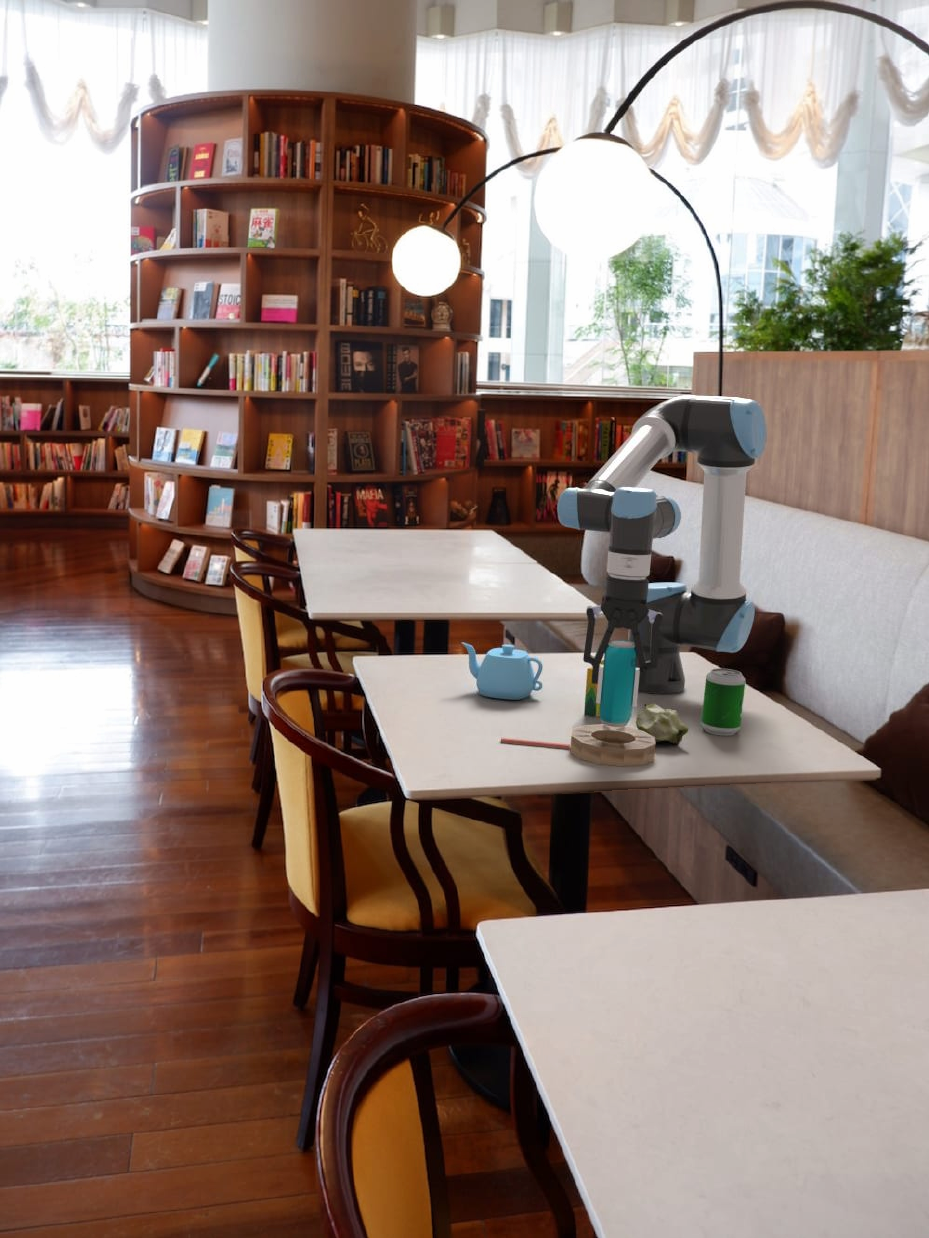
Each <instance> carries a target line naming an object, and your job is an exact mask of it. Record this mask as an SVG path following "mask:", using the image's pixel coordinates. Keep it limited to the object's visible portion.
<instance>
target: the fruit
mask: <svg viewBox="0 0 929 1238" xmlns="http://www.w3.org/2000/svg"><path fill="white" fill-rule="evenodd" d="M643 705H644V709H643V710H642V711H640V712H639V713H638V714H637V716H636V720H635V724H636V729H638V730H641V731H644V732H646V733H648V734H650V735H651V736H653V737H655V743H658V742H664V741H669V742H670V743H671V744H677V745H679V744H680V743H682V739H683V736H685V735H686V734H687V733H688V732H689V727H687V726H686V725H685V724H684V723H682V722H681V720H680V717H679V713H678V711H677V710H675V709H671V708H665V709H663V708H662V707H661V706H659V705H658V704H655V703H652V704H650V705H647V704H646V703H645V704H643Z"/></svg>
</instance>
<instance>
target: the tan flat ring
mask: <svg viewBox="0 0 929 1238" xmlns="http://www.w3.org/2000/svg"><path fill="white" fill-rule="evenodd" d="M655 750H656V742H655V737H653V736H651V735H650V734H648V733H646V732H644V731H641V730H638V729H637V728H634V727H629V726H627V725H626V726H624V727H612V726H607V725H605V724H603V723H601V724H586V725H581V726H579V727H576V728H572V731H571V737H570V749H569V751H570V753H571V754H573V755H575V756H576V757H578V758H579V759H581V760H584V761H589V762H591V763H594V764H599V765H604V766H605V765H606V766H617V767H630V766H631V767H632V766H643V765H646V764H648V763H651V762H652V761H655V754H656V753H655V752H656V751H655Z"/></svg>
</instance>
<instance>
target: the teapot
mask: <svg viewBox="0 0 929 1238" xmlns="http://www.w3.org/2000/svg"><path fill="white" fill-rule="evenodd" d="M461 644H462V645H463V646H464V647H465V649H466V650H467V653H468V665H469V666H468V667H469V672H470V674H471V675H472V676H473V677H474V679H476V688H477V690H478V692H479V694H480V695H481V696H484V697H487V698H494V699H499V700H501V699H502V700H513V701H518V700H523V699H525V698H527V697H529V696H530V694H531V693H532V692H533V691H536V692H538V691H541V690H542V689H543V683H542V681H540V680H539V678H540V676H541V674H542V671H543V663H542V661H541V660H540V659H539V658H537V657H536V656H530V655H529V653H528V652H527V651H526V650H522V649H516V647H515V645H513V644H502V645H501V647H496V648H495V647H494V648H492V649H490V650H488V651H487V652H486V654H485V656H484V658H483V659H482V662H481V664H480V663H479V662H478V660H477V655H476V649H475V648H474V647H473V645H471V644H469V643H467V642H464V641H463V642H461ZM532 662H535V663H536V664H537V665H538V668H537V672H536V674H535V672H534V668H533V664H532ZM537 684H538V685H539V686H536V685H537Z"/></svg>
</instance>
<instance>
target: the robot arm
mask: <svg viewBox="0 0 929 1238" xmlns="http://www.w3.org/2000/svg"><path fill="white" fill-rule="evenodd" d="M766 443H767V421H766V417H765V412H764V410H763V408H762V406H761V405H760V403H759V402H757V401H756V400H754V399H750V398H749V399H748V398H741V397H737V396H734V397H733V396H714V395H713V396H711V395H694V394H684V395H678V396H676V397H672V398H669V399H667V400H665V401H662V402H660V403H658V404H657V405H655V406H653V407H652V408H650V409H648V410H647V411H646V412H645V413H644V414H642V415H641V416H640V417H639V418H638V419H637V420H636V422H634V424H633V425H632V429H631V434H630V436H629V437H628V438H627V439H626V440H625V441H624V442H623V444H622V445H620V447H619V448H618V449H617V450H616V452H614V454H613V455H611V457H610V458H609V459H608V460H607V461H606V462H605V463H604V465H603V466H602V467H601V468H600V469H599V470H598V471H597V472H596V473H595V474H594V476H593V477H592V478H591V479H590V480H589V481H588V483H587V484H585V486H583V488H579V487H568V488H565V489H564V490H562V492H561V494H560V495H559V498H558V500H557V501H558V502H557V508H556V509H557V518H558V520H559V523H560V524H561V525H562V526H564V527H566V528H571V529H576V530H578V531H581V530H583V531H584V530H585V531H592V532H600V533H609V541H608V542H609V543H608V553H607V563H606V572H607V573H608V575H607V576H606V577H605V587H604V595H603V596H604V597H603V600H602V602H601V604H599V605H596V606H591V605H588V606H587V607H586V616H587V630H586V636H585V637H586V638H585V644H584V650H583V651H584V652H583V658H582V660H583V662H584V663H586V664H587V663H588V664H590V665H591V667H593V669H592V683H593V684H598V687H597V698H596V703H600V701H601V690H602V678H603V665H600V663H601V661H602V660H603V659H604V654H605V650H606V648H607V645H608V643H609V640H611V637H612V636H613V633H614V631H615V629H621V628H622V629H623V628H624V629H626V630H628V634H627V641H632V642H634V643H635V648H636V653H637V660H636V670H635V680H634V691H633V702H632V708H633V707H634V708H635V707H637V705H638V693H639V692H641V693H646V694H647V693H648V694H662V695H663V694H665V695H666V694H675V693H676V694H677V693H680V692H682V691H684V689H685V683H686V677H685V674H684V673H685V672H684V669H683V664H682V659H681V655H680V652H681V645H682V646H688V647H692V648H694V647H695V648H700V649H704V650H705V649H706V650H711V651H715V652H718V653H720V652H722V653H723V652H725V653H732V654H733V653H737V652H738V651H740V650H741V649H742V648H743V647H744V645H745V644H746V642H747V640H748V638H749V635H750V634H751V630H752V627H753V624H754V617H755V613H756V612H755V611H756V610H755V609H756V608H755V603H754V602H753V601H751V599H747V589H746V588H745V587H744V586H743V585H742V583H741V582H740V581H741V569H742V567H741V566H742V551H743V550H742V548H743V532H744V516H745V504H746V489H747V488H746V484H747V473H748V471H750V470H751V469H752V468H753V467H754V466H755V462H756V459H759V458H760V457H762V456H763V454H764V452H765V449H766ZM673 452H674V453H675V452H688V453H695V454H696V453H697V460H696V461H697V465H698V466H699V467H700V468H701V469H702V470H703V472H704V474H703V489H702V490H703V492H702V506H701V507H702V508H701V510H702V511H701V526H700V527H701V529H700V530H701V531H700V551H699V568H698V570H699V571H698V581H696V582H695V584H693V585H692V586H691V588H690V591H688V588H687V585H686V584H685V583H681V582H671V581H670V582H652V583H650V582H649V579H648V578H647V577H649V576H650V573H651V570H650V569H651V561H652V560H651V559H652V551H653V550H652V549H653V540H654V539H662V538H665V537H667V536H669V535H671V534H672V533H674V532H675V531H676V530H677V529H678V527H679V526H680V524H681V519H682V513H681V508H680V506H679V504H678V503H677V502H676V501H675V500H674V499H672V498H671V497H669V496H665V495H659V494H658V495H657V492H656V491H654V490H653V489H650V488H643V487H637V486H638V485H639V484H640V483H641V481H643V479H644V478H645V476H647V474H648V473H649V472H650V471H651V470H652V468H653V467H654V466H655V465H656V464H657V463H658V462H659V460H661V459H665V458H666V457H669V456H670V455H671V454H672V453H673ZM600 613H602V614H603V615H604V617H605V618H606V620H607V625H606V628H605V631H604V633H603V635H602V638H601V640H600V642H599V645H598V648H597V650H596V652H595V655H594V656H593V655H591V654H592V649H593V648H592V647H593V641H594V640H593V639H594V633H595V625H596V619H598V618H599V616H600Z"/></svg>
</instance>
